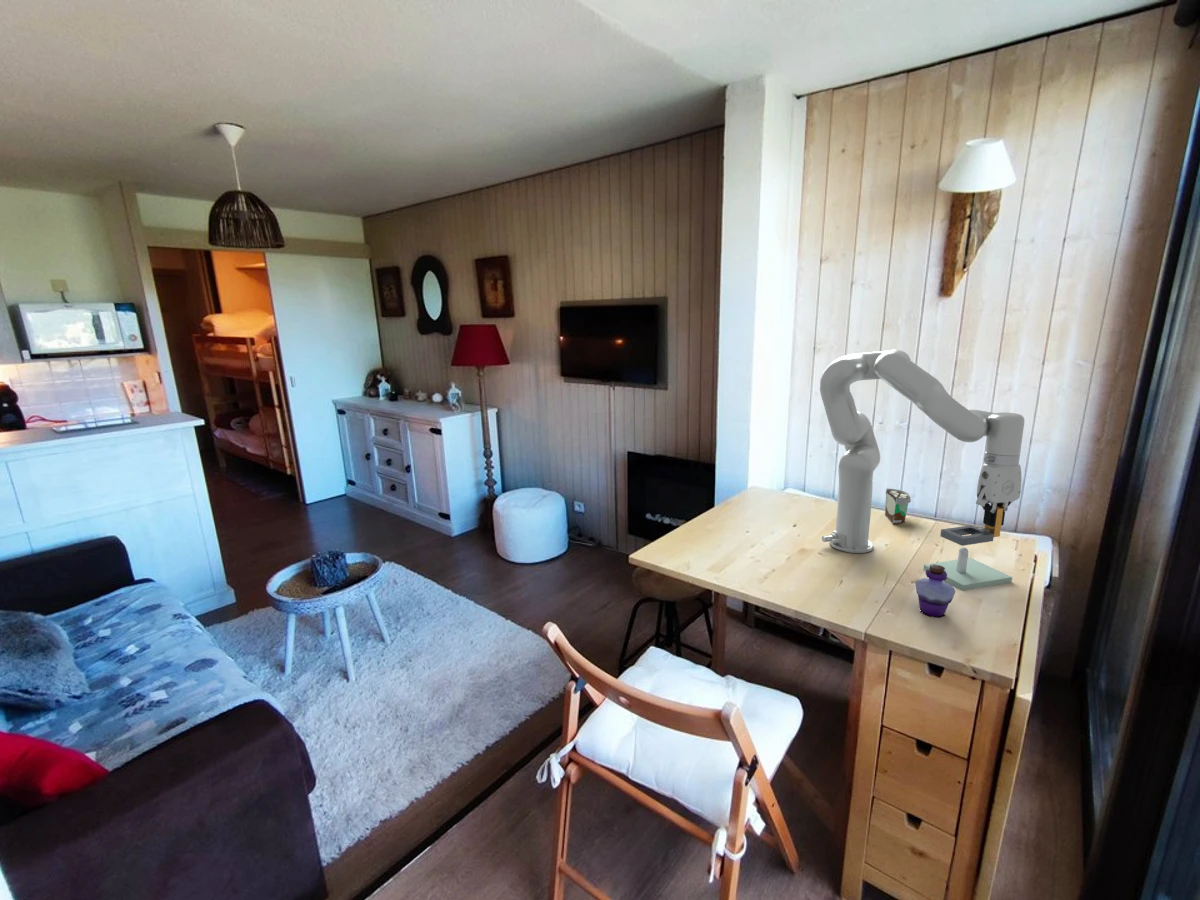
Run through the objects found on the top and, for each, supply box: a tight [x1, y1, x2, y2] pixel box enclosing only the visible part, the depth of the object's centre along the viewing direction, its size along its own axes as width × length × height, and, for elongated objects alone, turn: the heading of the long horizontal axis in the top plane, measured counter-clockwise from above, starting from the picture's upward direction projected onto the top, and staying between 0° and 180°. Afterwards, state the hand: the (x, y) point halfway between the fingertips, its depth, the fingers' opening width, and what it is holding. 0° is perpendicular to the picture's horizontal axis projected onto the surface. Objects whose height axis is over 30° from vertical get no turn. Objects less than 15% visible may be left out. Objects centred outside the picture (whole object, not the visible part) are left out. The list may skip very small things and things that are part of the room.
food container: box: [884, 488, 912, 526], centre depth 193 cm, size 12×6×10 cm, turn 168°
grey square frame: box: [939, 506, 1003, 547], centre depth 148 cm, size 14×7×8 cm, turn 103°
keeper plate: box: [923, 546, 1013, 591], centre depth 151 cm, size 16×13×9 cm
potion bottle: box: [914, 564, 956, 619], centre depth 133 cm, size 9×9×12 cm
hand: (993, 524), depth 150 cm, fingers closed on grey square frame
